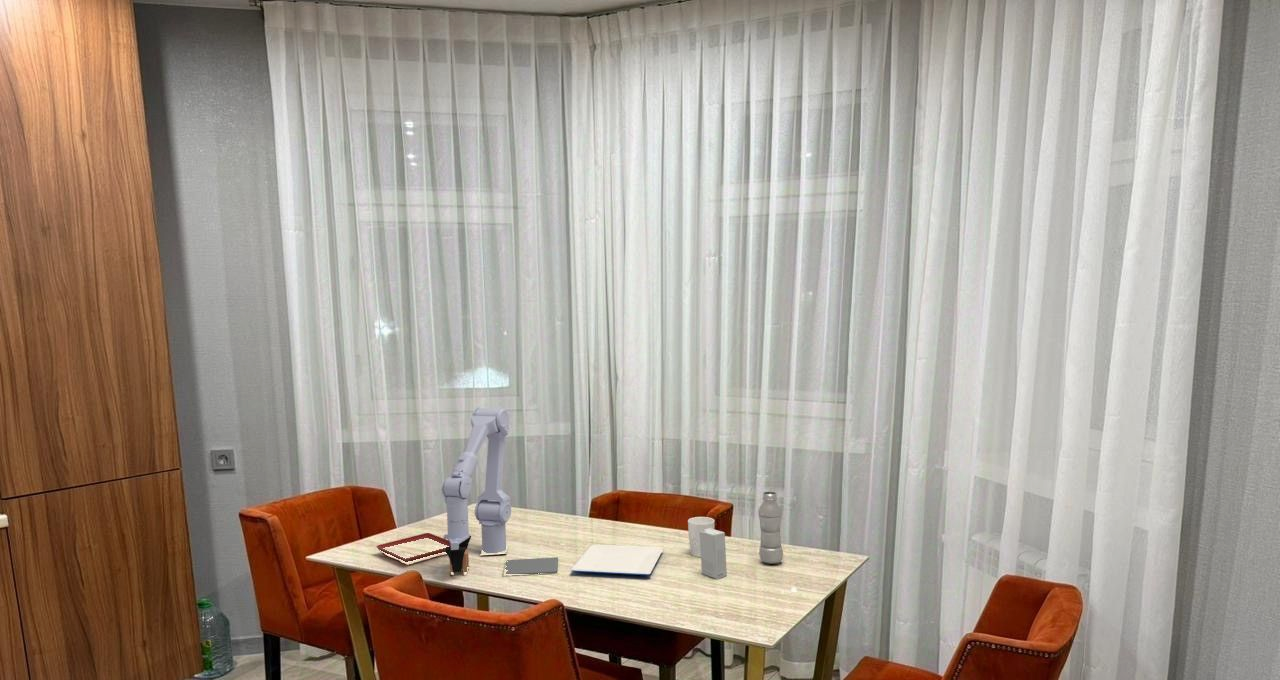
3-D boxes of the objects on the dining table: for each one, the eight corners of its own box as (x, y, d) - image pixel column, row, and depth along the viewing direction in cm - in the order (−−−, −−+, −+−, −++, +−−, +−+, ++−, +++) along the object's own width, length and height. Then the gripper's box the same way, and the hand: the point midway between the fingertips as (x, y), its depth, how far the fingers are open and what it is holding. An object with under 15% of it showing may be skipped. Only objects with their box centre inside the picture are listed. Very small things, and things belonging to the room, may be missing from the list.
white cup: (693, 559, 217) (693, 525, 217) (685, 551, 225) (684, 518, 225) (719, 556, 220) (718, 522, 219) (709, 548, 227) (708, 515, 227)
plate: (649, 580, 202) (649, 573, 202) (570, 576, 206) (570, 569, 206) (664, 553, 224) (663, 546, 224) (591, 550, 228) (591, 543, 228)
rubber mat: (506, 562, 219) (506, 560, 219) (558, 559, 220) (558, 557, 220) (502, 576, 207) (502, 574, 207) (557, 573, 208) (557, 571, 208)
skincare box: (727, 576, 203) (726, 531, 203) (715, 580, 201) (714, 535, 200) (711, 570, 208) (710, 527, 208) (699, 574, 205) (698, 530, 205)
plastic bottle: (783, 567, 209) (781, 496, 208) (758, 566, 211) (757, 495, 210) (783, 559, 216) (782, 490, 215) (759, 558, 217) (758, 490, 216)
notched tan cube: (452, 570, 213) (451, 549, 213) (468, 569, 213) (468, 548, 213) (450, 576, 208) (449, 554, 208) (466, 575, 209) (466, 554, 208)
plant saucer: (459, 554, 229) (459, 543, 228) (405, 569, 216) (405, 558, 215) (428, 542, 241) (428, 532, 241) (375, 556, 228) (375, 545, 228)
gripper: (447, 513, 217) (449, 559, 218) (438, 527, 203) (440, 577, 203) (472, 512, 218) (473, 558, 218) (465, 526, 203) (466, 575, 204)
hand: (459, 567), depth 211 cm, fingers open, 7 cm apart
